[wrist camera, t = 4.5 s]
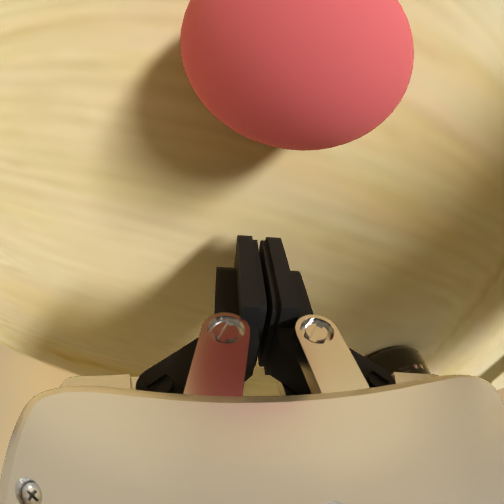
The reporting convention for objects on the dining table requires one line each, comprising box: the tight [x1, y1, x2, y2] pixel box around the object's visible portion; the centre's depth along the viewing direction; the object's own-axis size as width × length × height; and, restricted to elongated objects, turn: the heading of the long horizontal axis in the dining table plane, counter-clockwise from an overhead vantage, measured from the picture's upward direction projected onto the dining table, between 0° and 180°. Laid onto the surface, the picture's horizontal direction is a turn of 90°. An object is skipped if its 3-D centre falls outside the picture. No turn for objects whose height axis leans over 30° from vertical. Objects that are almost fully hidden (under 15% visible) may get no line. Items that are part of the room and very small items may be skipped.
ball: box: [180, 0, 414, 150], centre depth 6 cm, size 6×6×6 cm
